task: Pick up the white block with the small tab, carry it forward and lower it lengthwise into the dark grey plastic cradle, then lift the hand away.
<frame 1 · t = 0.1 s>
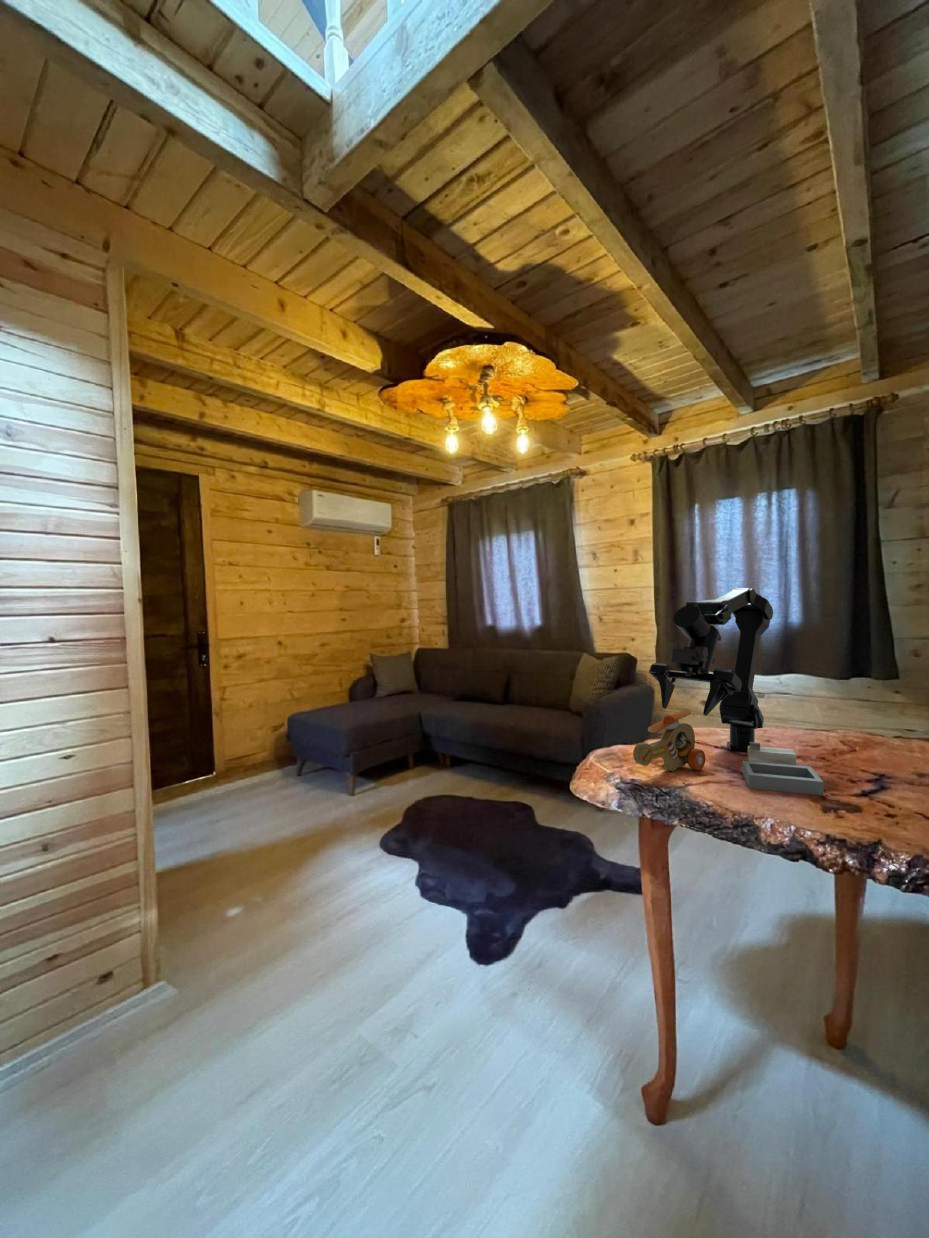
hand: (683, 711, 111), 15 cm above the table, tool tilted 35°, fingers open, 9 cm apart
toy helicopter: (668, 772, 116), on the table
white block with tab: (771, 769, 116), on the table
cradle: (780, 783, 107), on the table
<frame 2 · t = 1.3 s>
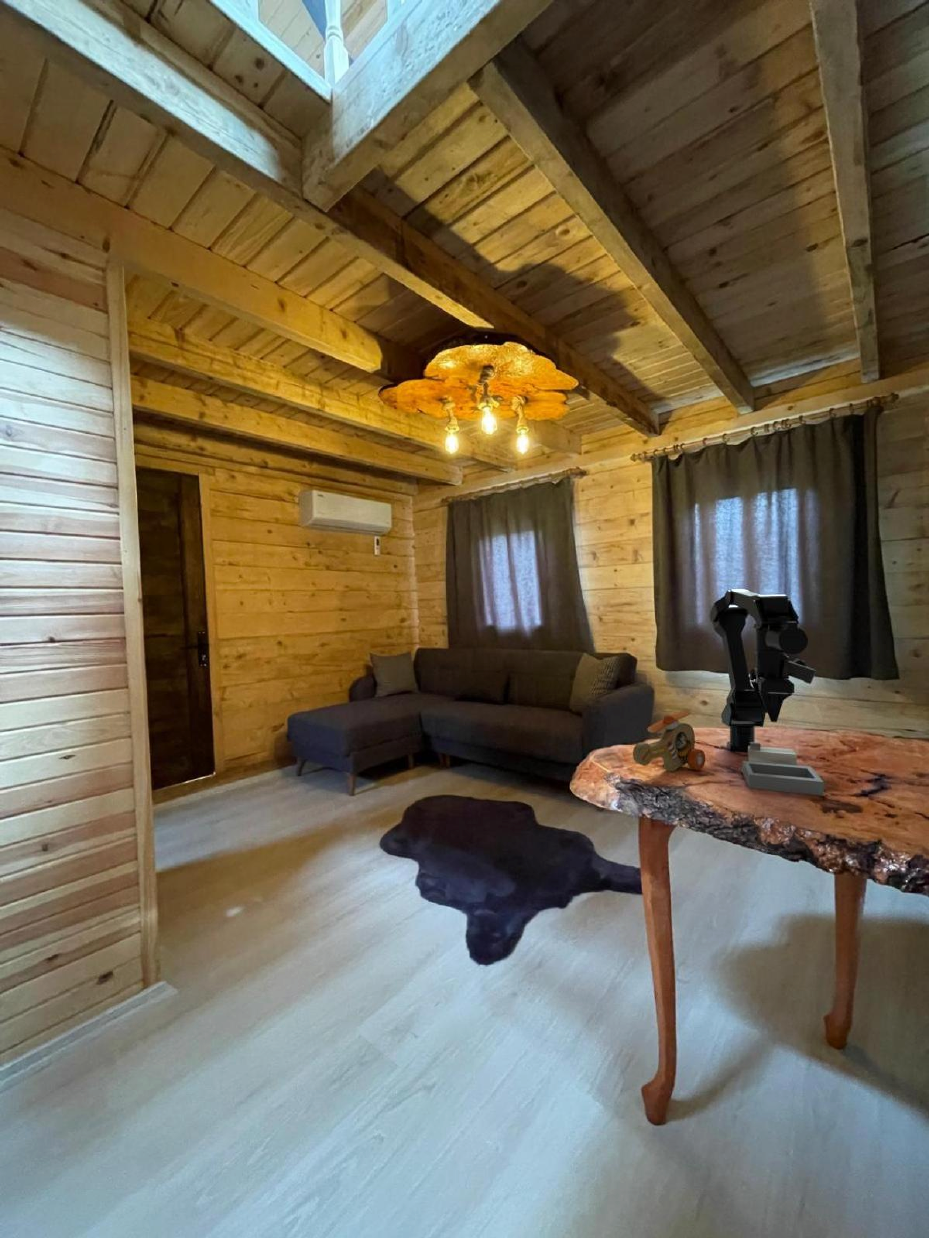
hand: (770, 717, 115), 12 cm above the table, tool pointing down, fingers open, 9 cm apart
nothing on the table moved.
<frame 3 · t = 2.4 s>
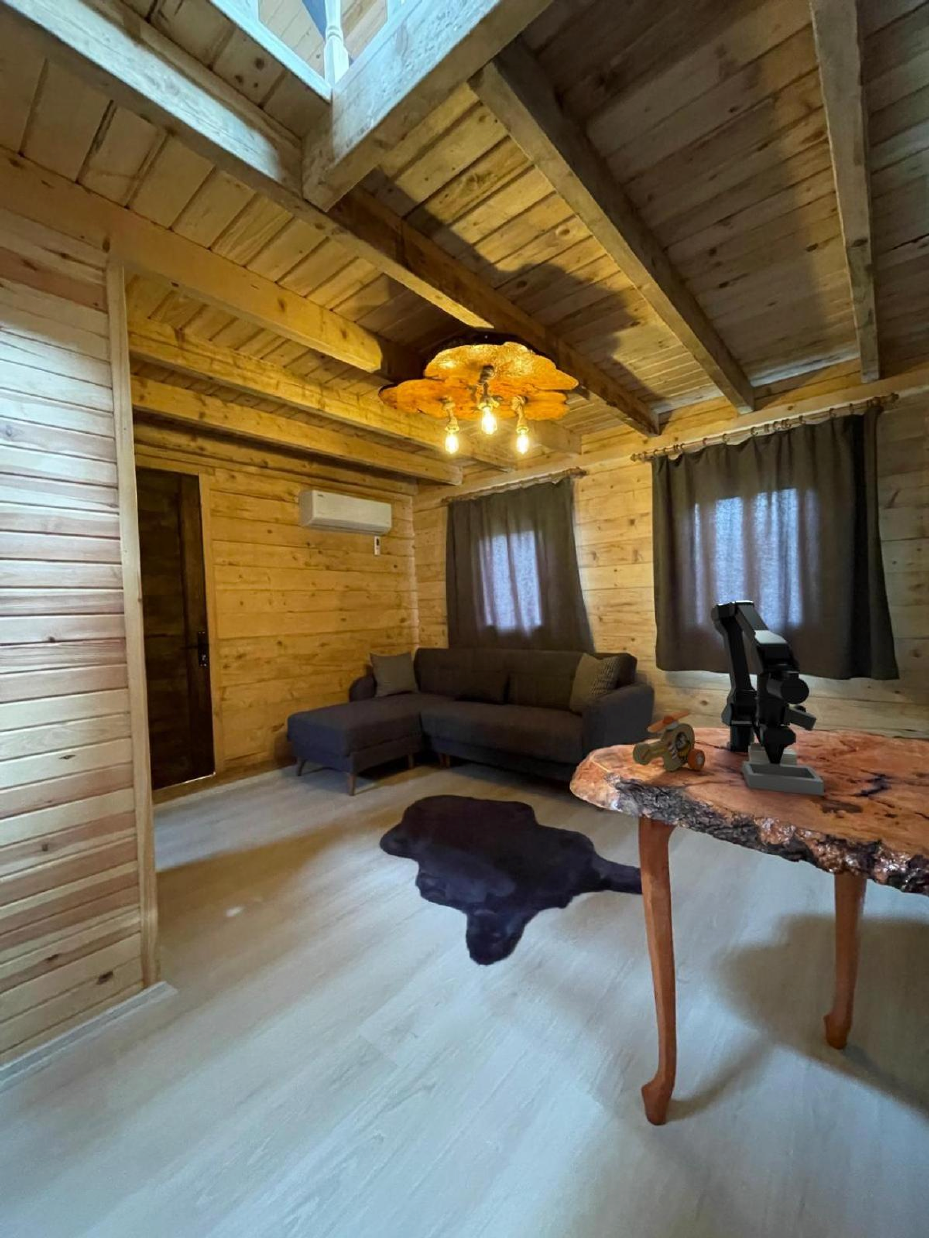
hand: (771, 762, 116), 1 cm above the table, tool pointing down, fingers open, 8 cm apart
nothing on the table moved.
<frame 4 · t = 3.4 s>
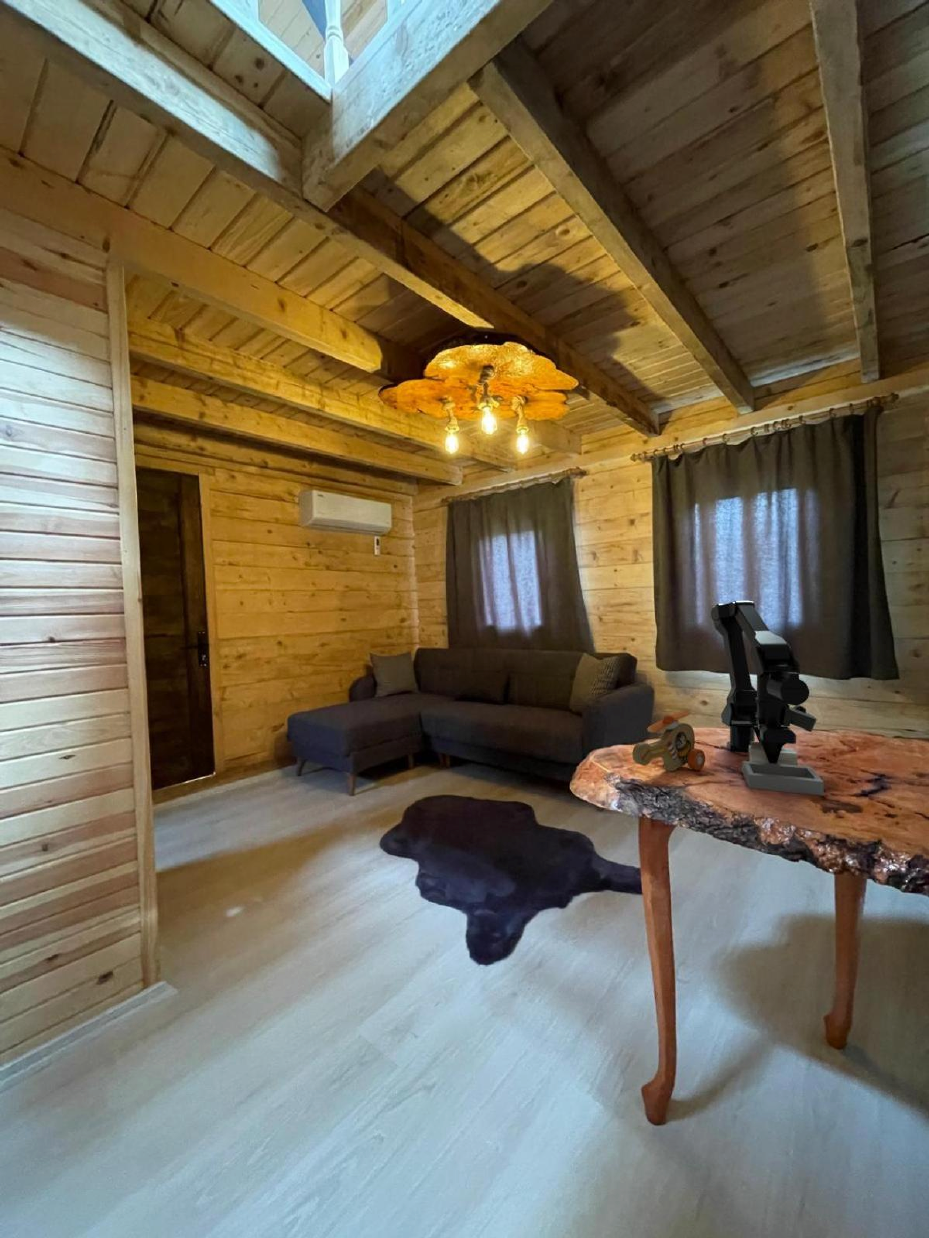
hand: (771, 763, 116), 1 cm above the table, tool pointing down, fingers closed on white block with tab, 4 cm apart
white block with tab: (772, 768, 116), on the table, touching gripper
everything else where it was.
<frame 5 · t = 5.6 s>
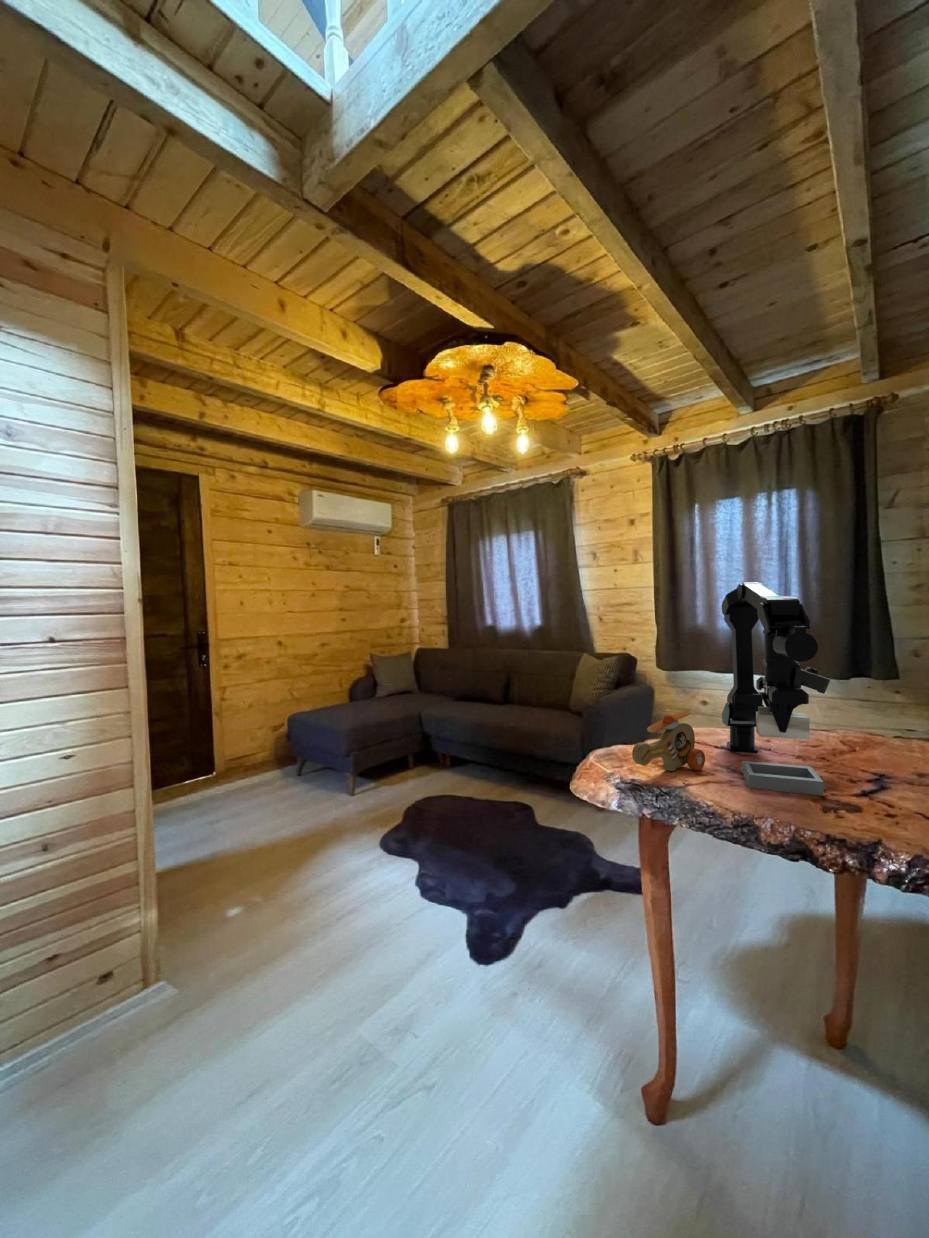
hand: (780, 729, 107), 11 cm above the table, tool pointing down, fingers closed on white block with tab, 4 cm apart
white block with tab: (782, 735, 107), point 10 cm above the table, touching gripper
everything else where it was.
when the fingers open (4 cm above the table, at t = 7.7 s): white block with tab drops 2 cm, resting on cradle.
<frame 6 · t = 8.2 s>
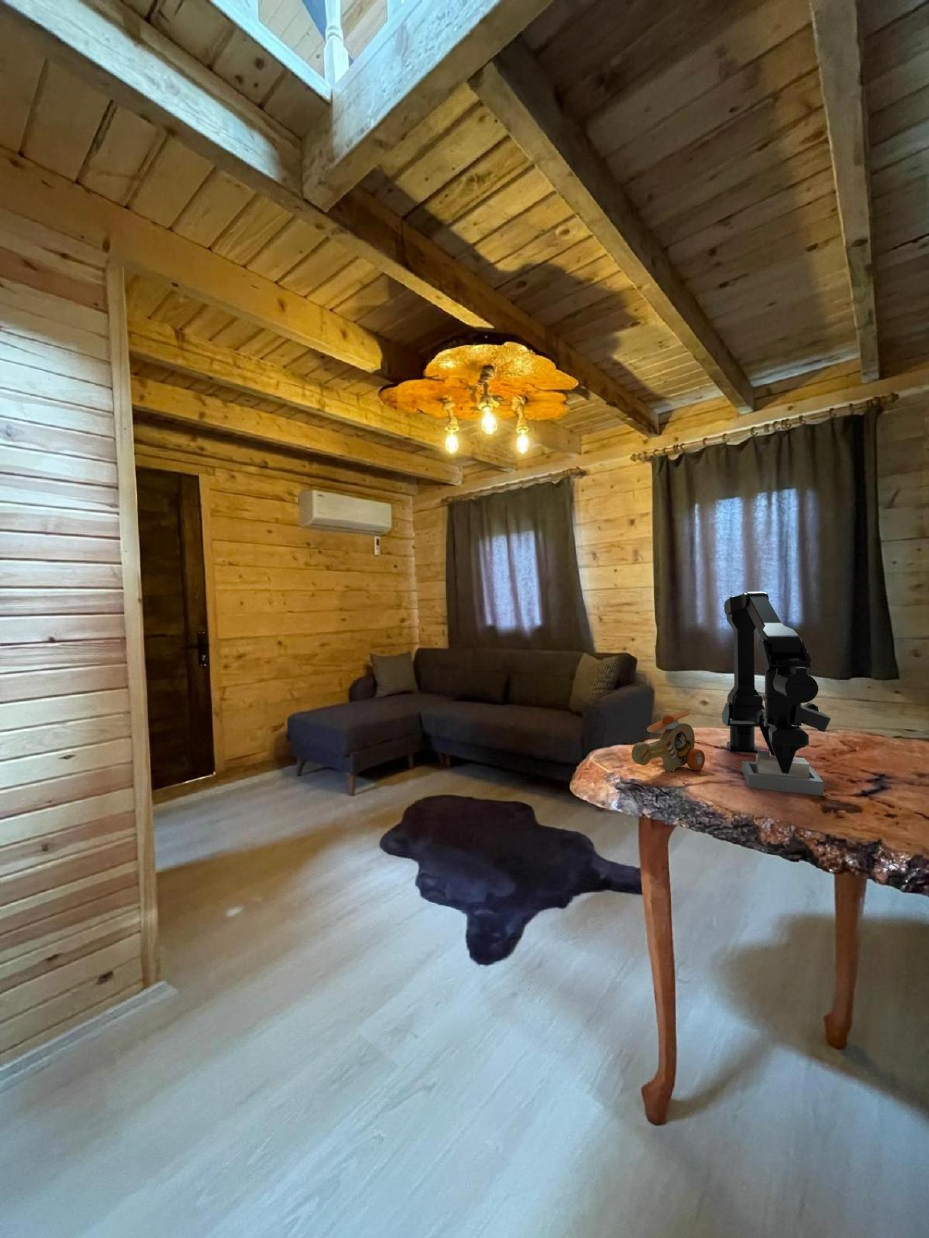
hand: (780, 765, 107), 4 cm above the table, tool pointing down, fingers open, 9 cm apart
white block with tab: (781, 779, 107), point 1 cm above the table, touching cradle
everything else where it was.
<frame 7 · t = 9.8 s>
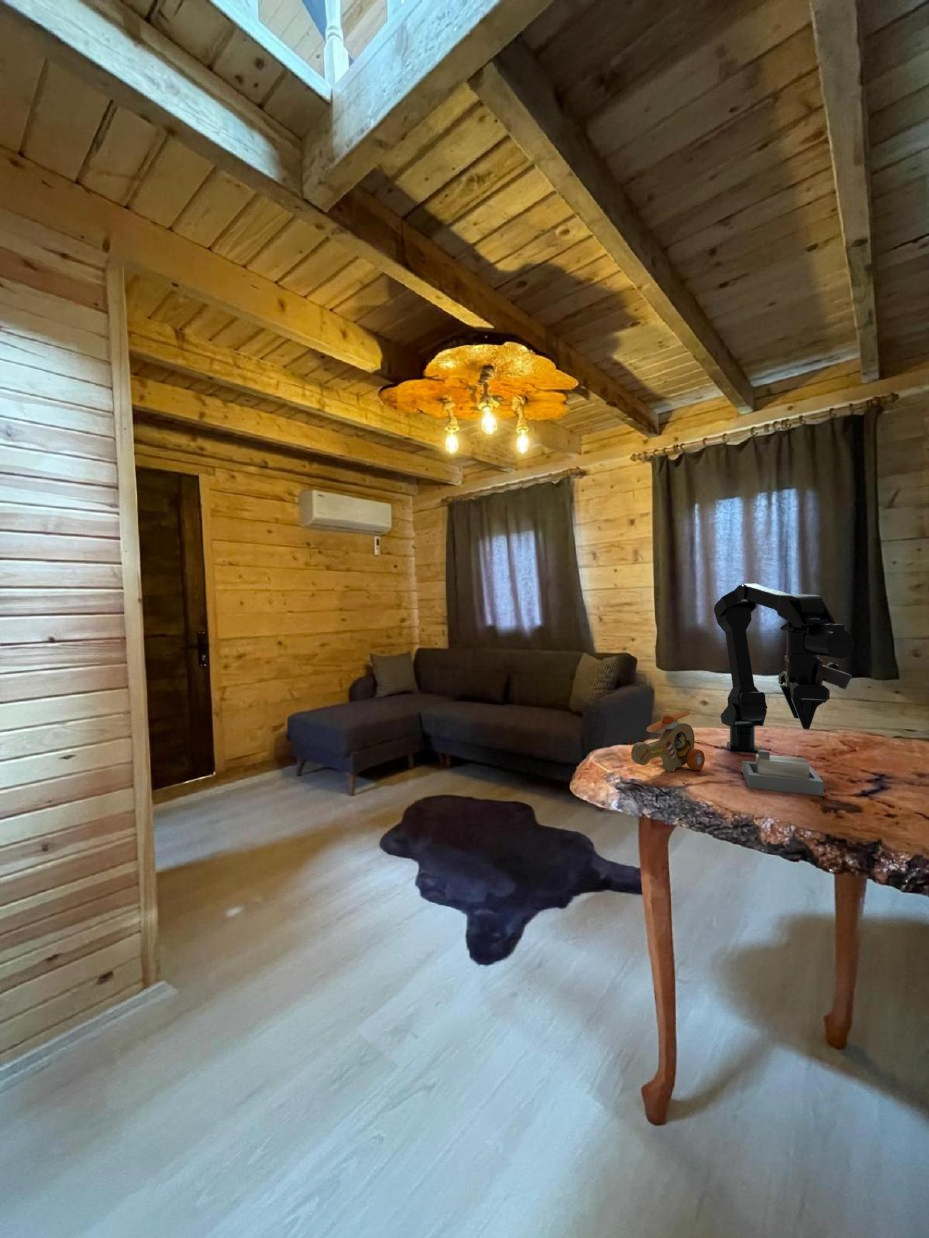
hand: (801, 723, 110), 12 cm above the table, tool pointing down, fingers open, 9 cm apart
nothing on the table moved.
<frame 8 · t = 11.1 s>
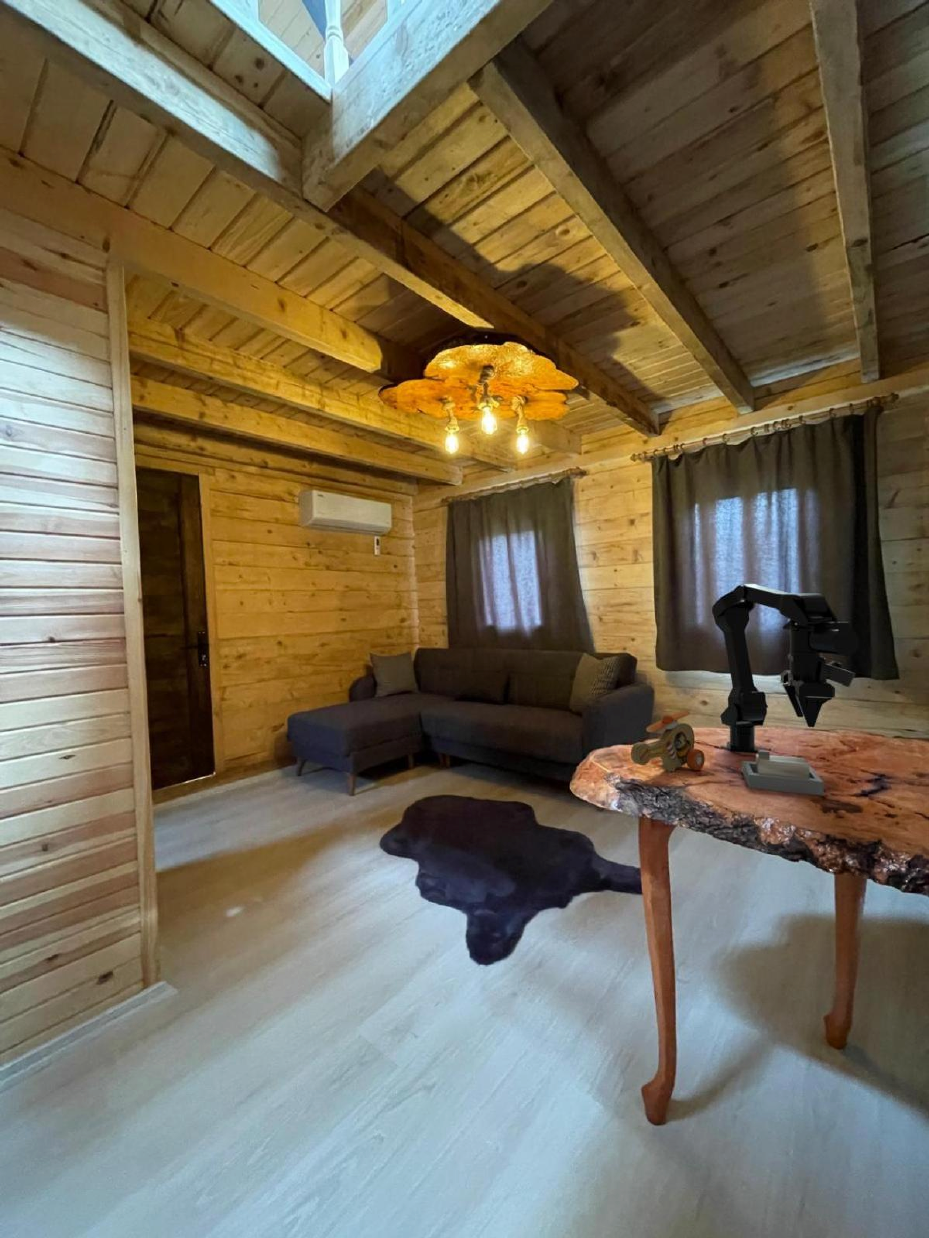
hand: (805, 721, 110), 12 cm above the table, tool pointing down, fingers open, 9 cm apart
nothing on the table moved.
at the end: white block with tab 0.3 cm off-centre on the cradle, point 0.8 cm above the cradle's base; white block with tab tilted 0°; the gripper is holding nothing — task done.
